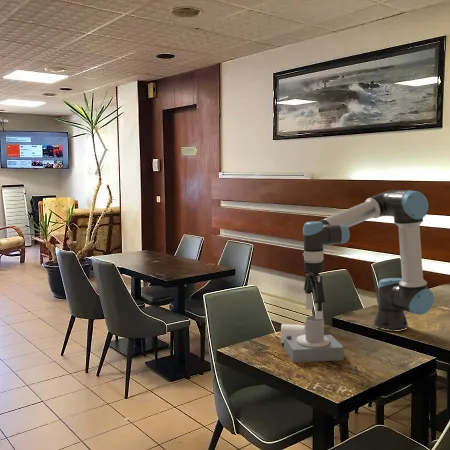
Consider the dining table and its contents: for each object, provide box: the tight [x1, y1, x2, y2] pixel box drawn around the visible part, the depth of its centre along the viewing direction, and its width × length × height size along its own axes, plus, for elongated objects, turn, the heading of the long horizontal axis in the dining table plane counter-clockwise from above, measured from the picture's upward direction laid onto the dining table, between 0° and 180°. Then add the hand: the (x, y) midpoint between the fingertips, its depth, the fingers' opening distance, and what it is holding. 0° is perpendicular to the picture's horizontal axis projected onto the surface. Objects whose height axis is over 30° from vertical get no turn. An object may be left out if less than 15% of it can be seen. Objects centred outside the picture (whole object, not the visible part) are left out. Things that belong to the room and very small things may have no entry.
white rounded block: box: [280, 323, 306, 344], centre depth 210 cm, size 12×10×8 cm
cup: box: [304, 315, 325, 343], centre depth 194 cm, size 7×10×9 cm
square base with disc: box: [283, 334, 345, 363], centre depth 195 cm, size 20×15×6 cm
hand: (313, 313), depth 193 cm, fingers open, 13 cm apart
